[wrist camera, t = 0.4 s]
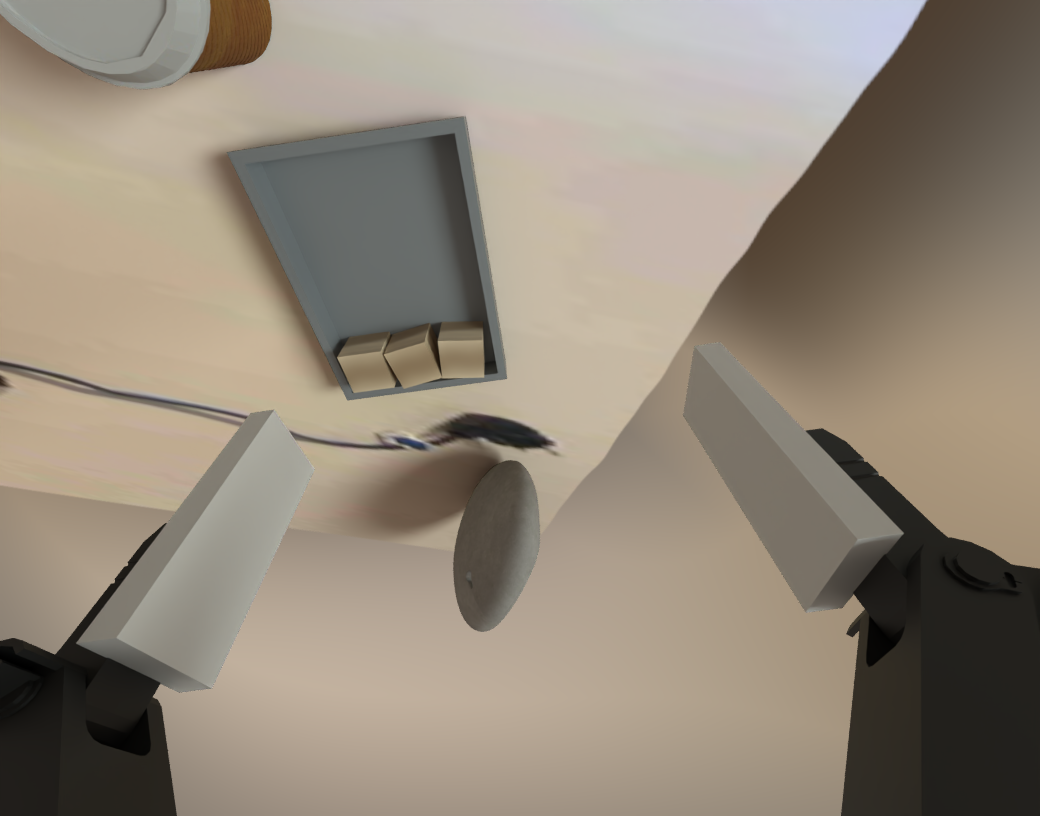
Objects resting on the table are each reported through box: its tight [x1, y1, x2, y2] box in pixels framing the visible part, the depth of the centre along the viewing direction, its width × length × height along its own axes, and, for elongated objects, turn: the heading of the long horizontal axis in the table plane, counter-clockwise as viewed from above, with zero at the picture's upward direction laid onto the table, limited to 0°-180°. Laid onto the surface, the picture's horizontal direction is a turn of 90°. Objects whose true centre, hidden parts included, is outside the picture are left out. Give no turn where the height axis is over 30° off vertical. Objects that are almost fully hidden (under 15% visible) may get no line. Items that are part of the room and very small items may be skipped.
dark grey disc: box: [453, 460, 540, 632], centre depth 46 cm, size 18×7×19 cm, turn 154°
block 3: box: [438, 321, 485, 378], centre depth 38 cm, size 4×4×4 cm
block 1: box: [337, 332, 397, 393], centre depth 38 cm, size 4×4×4 cm
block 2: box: [384, 323, 442, 389], centre depth 38 cm, size 4×4×4 cm
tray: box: [227, 116, 507, 400], centre depth 35 cm, size 22×17×3 cm
